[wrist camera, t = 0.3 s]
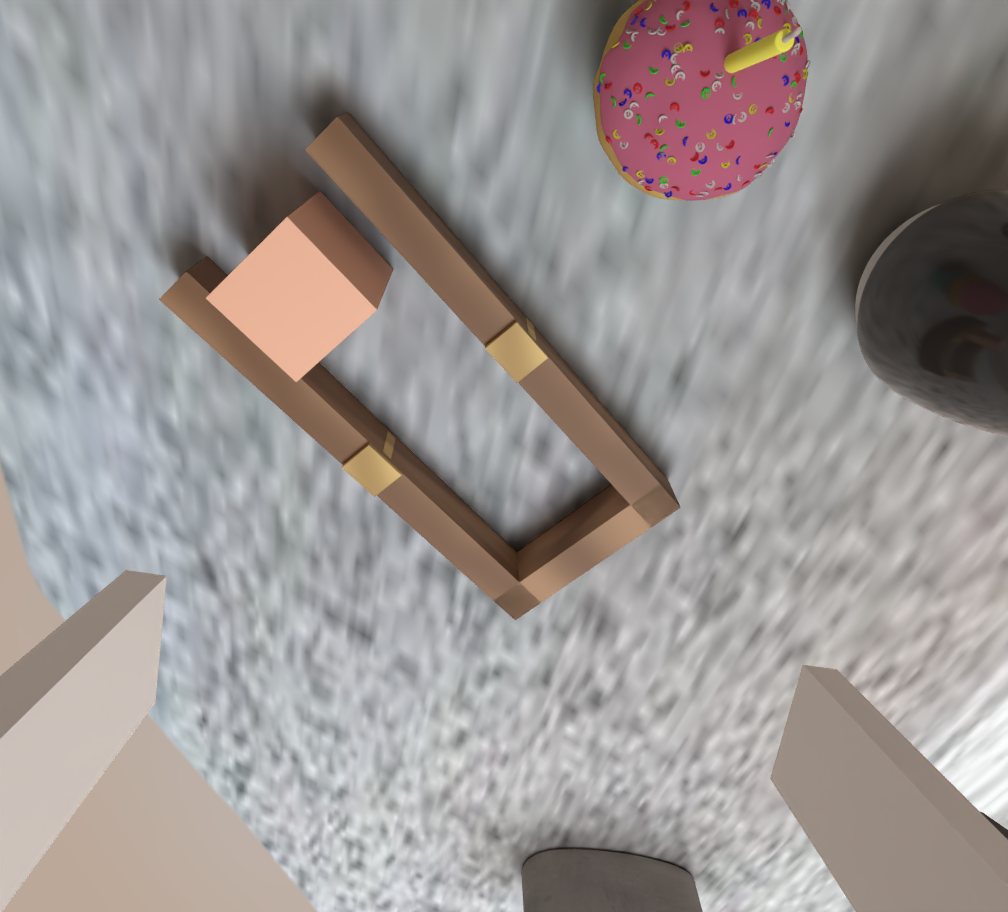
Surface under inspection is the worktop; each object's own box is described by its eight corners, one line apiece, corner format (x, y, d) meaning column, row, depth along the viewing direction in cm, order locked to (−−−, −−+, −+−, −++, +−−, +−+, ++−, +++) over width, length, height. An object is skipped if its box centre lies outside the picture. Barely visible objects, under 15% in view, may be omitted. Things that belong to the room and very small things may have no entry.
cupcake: (629, -56, 31) (708, -117, 21) (802, 24, 33) (958, 6, 22) (553, 149, 35) (587, 187, 24) (712, 213, 37) (809, 274, 26)
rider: (320, 190, 35) (287, 216, 29) (393, 269, 37) (376, 309, 31) (251, 259, 37) (205, 298, 31) (325, 331, 39) (296, 382, 33)
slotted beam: (348, 111, 34) (337, 116, 31) (668, 480, 44) (682, 509, 41) (180, 283, 37) (155, 301, 34) (512, 589, 47) (514, 623, 44)
